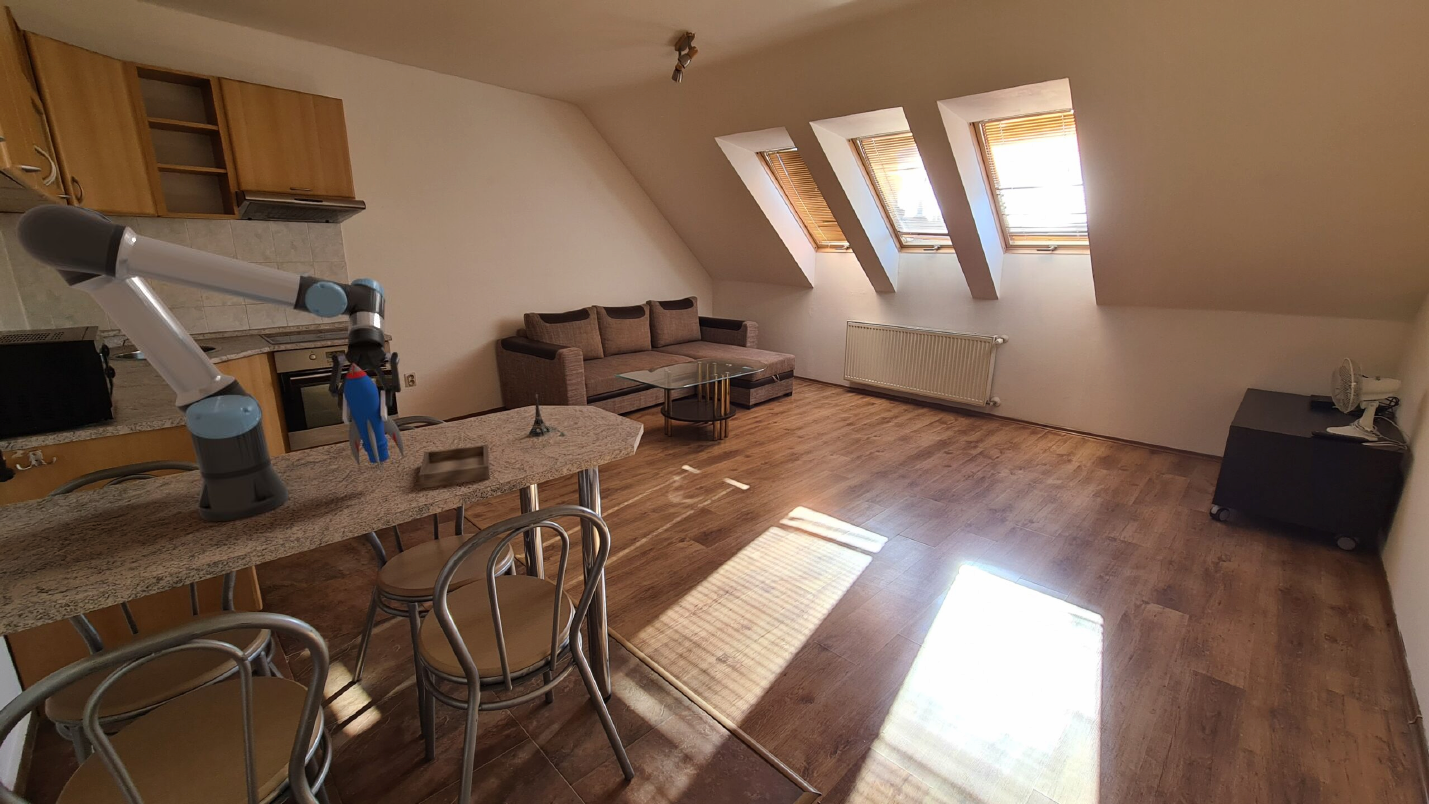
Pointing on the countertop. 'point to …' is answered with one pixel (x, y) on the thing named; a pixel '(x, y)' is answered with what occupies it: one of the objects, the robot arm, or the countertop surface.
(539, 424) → the eiffel tower figurine
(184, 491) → the countertop surface
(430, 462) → the cradle
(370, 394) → the toy rocket
